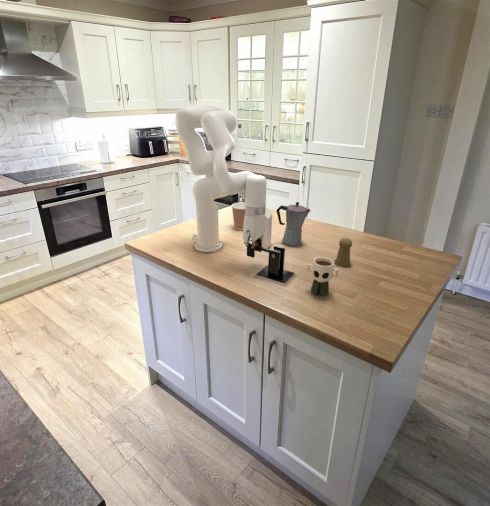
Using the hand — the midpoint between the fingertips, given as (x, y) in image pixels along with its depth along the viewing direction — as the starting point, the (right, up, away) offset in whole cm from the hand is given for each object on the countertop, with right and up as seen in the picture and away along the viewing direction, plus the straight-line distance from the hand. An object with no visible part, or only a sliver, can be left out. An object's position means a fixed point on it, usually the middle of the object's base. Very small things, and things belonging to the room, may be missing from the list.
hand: (254, 253), depth 137 cm
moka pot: (+18, +5, +28) cm, 34 cm away
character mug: (+23, -15, -12) cm, 30 cm away
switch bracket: (+8, -9, -1) cm, 12 cm away
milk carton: (+4, +3, +24) cm, 25 cm away
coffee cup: (-5, +13, +45) cm, 47 cm away
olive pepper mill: (+37, -4, +9) cm, 39 cm away
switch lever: (+4, 0, -3) cm, 5 cm away
